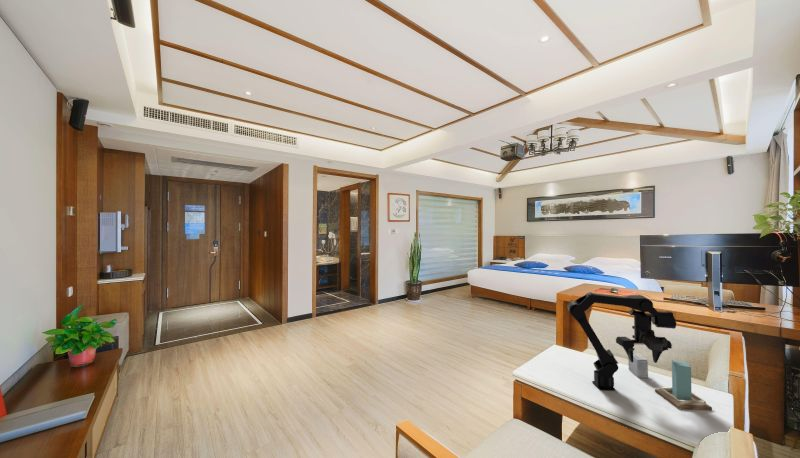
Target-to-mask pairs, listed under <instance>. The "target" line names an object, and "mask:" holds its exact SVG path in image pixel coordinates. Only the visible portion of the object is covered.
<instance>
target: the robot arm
mask: <svg viewBox="0 0 800 458" xmlns="http://www.w3.org/2000/svg"><path fill="white" fill-rule="evenodd" d="M594 304H601V305H603V304H604V305H610V306H612V305H613V306H619V307H627V308H629V309H630V310H629V311H628V312H627V313H628V314H629V315H630V316H633V325H632V326H631V327H632V329H633V333H634V334H632V335H631V336H632V339H630V338H629V337H627V336H617V337H616V338H615V343H616V344H618V345H619V346H621V347H622V348H623V350H624V352H625V353H626V355H627V357H629V359H630V361H631V362H633V353H634V351H635V350H636V349H635V348H634V347H635V345H643V346H644V345H645V346H646V348H647V349H648V350H650V351H651V353H652V354H651V356H652V361H653V363H655V364H656V363H658V360H659V359H660V356H661V355H662V354H663V352H665V351H668V350H669V349H672V348H673V344H672V343H671V341H670V340H668V339H667V337H665V336H656V334H655V330H654V329H653V327H652V325H653V326H655V328H660V329H661V328H662V329H674V330H675V329H676V327H677V321H676V318H675V316H674V312H672V311H669V310H666V311H664V310H663V311H662V310H657V309H656V308H655V307H654V303H653V301H652V300H651V299H649V298H647V297H646V296H644V295H642V294H634V295H633V294H631V295H615V294H606V293H597V292H590V291H589V292H587V293H585V294H584V295H582V296H579V297H578V298H577V299H575V300H572V301H569V302H568V303H567V305H566V307H567V310H568V312H569V313H570V315H571V317H573V318H574V320H575V321H576V322H577V323H578V324H579V325H580V327H581V328H582V330H583V333H584V334H585V335H586V337H587V340H589V342H590V343H591V345H592V346H593V349H594V350H595V353H596V356H597V360H596V361H594V362H593V366H594V368H595V370H593V380H592V381H591V382H592V383H593V385H594V386H596V388H597V389H598V390H601V391H602V390H603V391H605V390H606V391H615V390H616V388H615V378H614V374H615V373H616V372H617V371H618V370H619V366H618V365H619V362H618V359H616V358H615V356H614V353H613V352H612V351H611V350H610V348H609V349H606V348H604V346H603V344H602V342H601V340H600V339H599V337H598V336H597V334H596V333H595V330H594V329H593V328H592V326H591V324H590V323H589V321H588V318H587V314H586V311H588V309H589V308H591V306H593V305H594Z"/></svg>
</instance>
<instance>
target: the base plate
mask: <svg viewBox="0 0 800 458" xmlns="http://www.w3.org/2000/svg"><path fill="white" fill-rule="evenodd" d="M654 393H656V394H657V395H659V396H660V397H661V398H663V399H664V400H666V401H667V402H668V403H670V404H671V405H672V406H673V407H675V408H676V409H678V410H700V411H703V410H704V411H705V410H706V411H712V410H713V407H712V406H711V405H709V404H707V401H705V400H704V399H703V398H701V397H700V396H698V395H696V394H695V393H694V392H692V391H691V397H692V400H678V399H677V398H676V397H675V396H674V395H673V394H672V387H669V386H668V387H666V386H665V387H664V386H660V387H659V389H658V388H654ZM707 409H708V410H707ZM709 409H711V410H709Z"/></svg>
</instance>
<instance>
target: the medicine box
mask: <svg viewBox="0 0 800 458" xmlns="http://www.w3.org/2000/svg"><path fill="white" fill-rule="evenodd" d="M627 357H628V356H627ZM627 360H628V365H627V366H628V371H630V373H632V374H633V375H634V376H636V377H637V378H638V379H639V378H642V379H648V378H649V363H648V362H649V361H648V359H647V358H645V357H644V356H643V355H641V354H640V353H638V352H633V362H631V361H630V359H629V357H628V359H627Z"/></svg>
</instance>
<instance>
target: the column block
mask: <svg viewBox="0 0 800 458" xmlns="http://www.w3.org/2000/svg"><path fill="white" fill-rule="evenodd" d="M671 386H672V387H671V388H672V394H673V395H674V396H675V397H676V398H677V399H678V400H692V397H691V392H692V367H691V366H690V364H689V363H688V362H687V361H679V360H671Z"/></svg>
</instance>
